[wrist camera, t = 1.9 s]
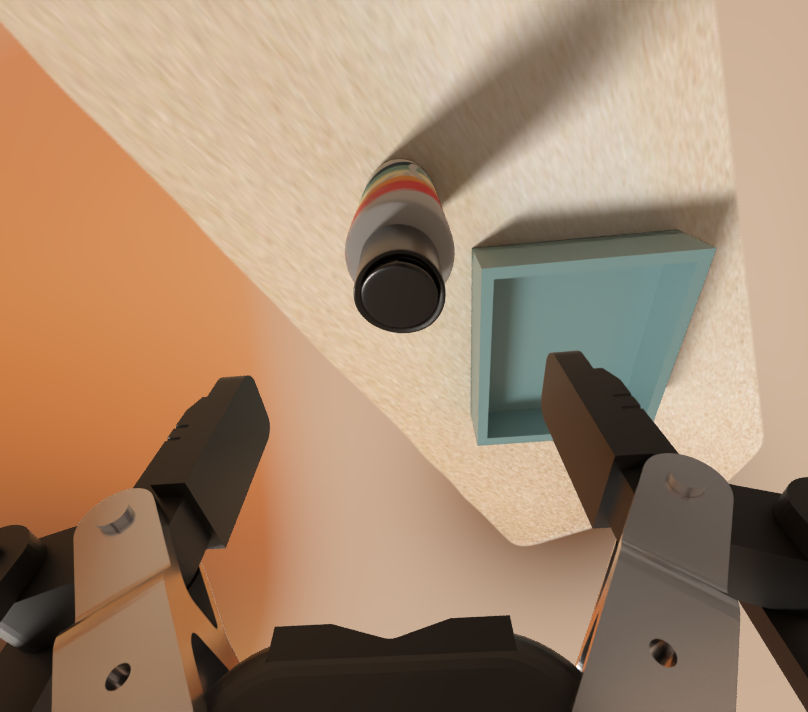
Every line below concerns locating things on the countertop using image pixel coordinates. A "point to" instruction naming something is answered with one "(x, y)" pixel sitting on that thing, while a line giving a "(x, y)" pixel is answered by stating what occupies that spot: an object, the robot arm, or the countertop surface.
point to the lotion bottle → (399, 249)
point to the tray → (577, 320)
